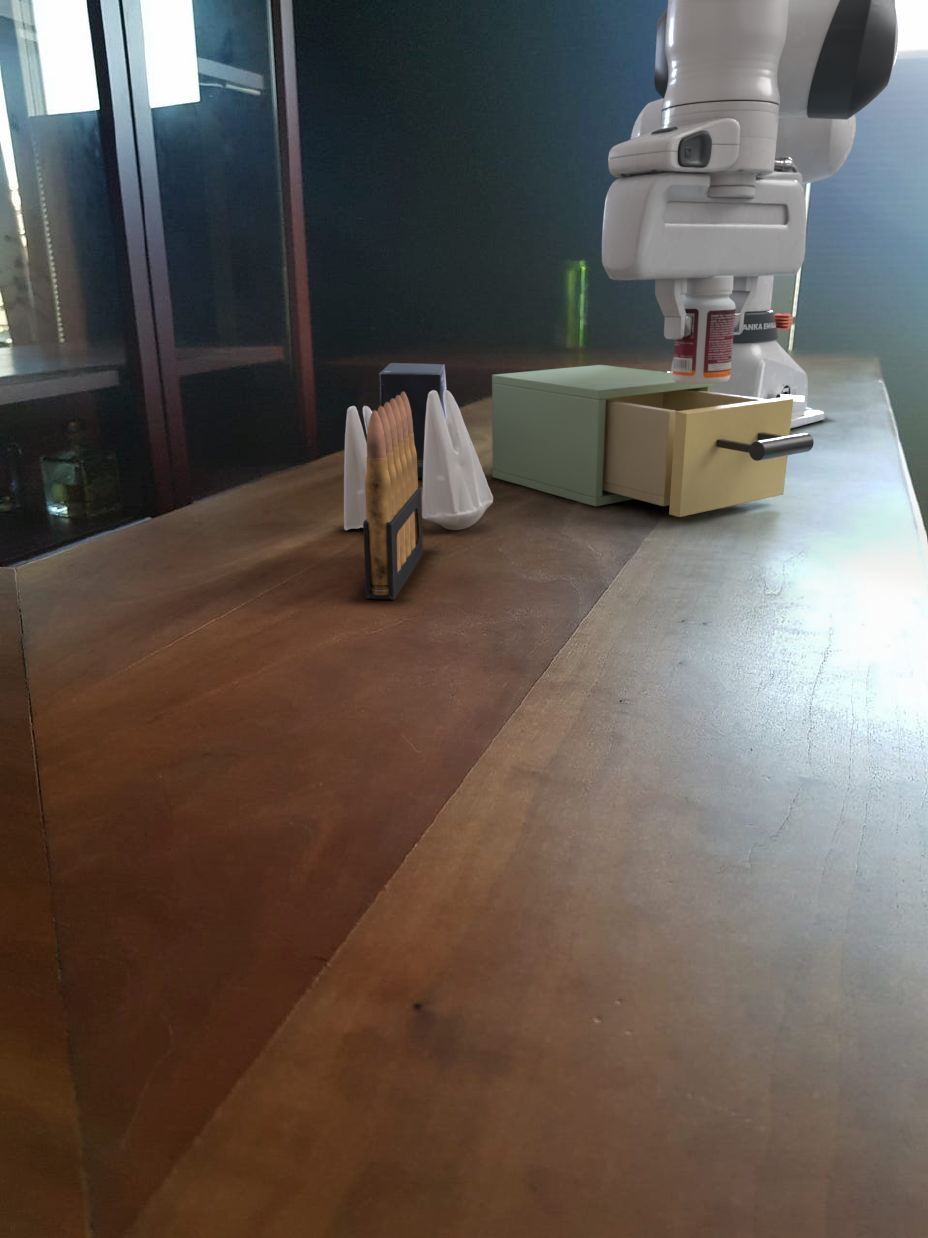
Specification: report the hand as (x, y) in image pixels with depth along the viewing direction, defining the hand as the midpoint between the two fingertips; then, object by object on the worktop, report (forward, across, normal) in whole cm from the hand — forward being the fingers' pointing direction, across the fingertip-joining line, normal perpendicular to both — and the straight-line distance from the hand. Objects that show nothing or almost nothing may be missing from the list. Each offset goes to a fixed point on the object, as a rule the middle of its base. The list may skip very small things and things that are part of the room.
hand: (703, 336), depth 79 cm
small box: (+14, +11, -28) cm, 34 cm away
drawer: (+13, 0, 0) cm, 13 cm away
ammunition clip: (+14, +31, +2) cm, 34 cm away
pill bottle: (+4, 0, 0) cm, 4 cm away
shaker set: (+14, +23, -8) cm, 28 cm away
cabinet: (+14, 0, -12) cm, 19 cm away
